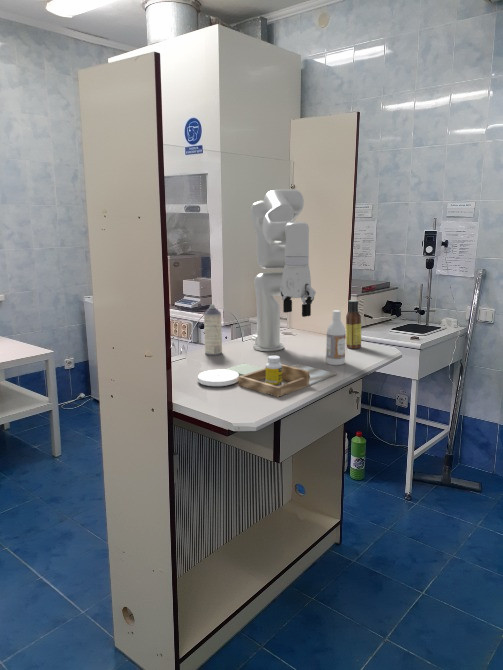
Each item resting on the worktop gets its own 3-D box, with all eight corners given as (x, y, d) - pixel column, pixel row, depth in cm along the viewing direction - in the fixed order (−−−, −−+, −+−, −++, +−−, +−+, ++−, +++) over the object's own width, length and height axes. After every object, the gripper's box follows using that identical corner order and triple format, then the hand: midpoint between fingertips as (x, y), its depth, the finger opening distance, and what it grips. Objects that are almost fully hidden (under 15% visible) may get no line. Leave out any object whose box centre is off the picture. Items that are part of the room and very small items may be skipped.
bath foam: (334, 366, 198) (336, 313, 193) (322, 362, 204) (323, 310, 199) (348, 363, 202) (350, 311, 197) (336, 359, 207) (337, 308, 203)
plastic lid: (228, 373, 192) (228, 367, 192) (246, 384, 180) (246, 377, 180) (191, 379, 186) (191, 372, 185) (207, 391, 174) (207, 384, 173)
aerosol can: (225, 352, 220) (223, 303, 215) (216, 356, 214) (215, 306, 209) (210, 350, 223) (209, 302, 218) (202, 354, 217) (200, 305, 212)
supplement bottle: (280, 388, 175) (280, 359, 173) (264, 387, 176) (264, 358, 174) (282, 383, 180) (282, 355, 178) (266, 382, 181) (266, 354, 179)
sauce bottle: (362, 346, 227) (363, 299, 222) (360, 349, 221) (361, 302, 216) (346, 345, 229) (347, 298, 224) (344, 348, 223) (345, 301, 218)
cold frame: (238, 385, 179) (238, 370, 178) (297, 365, 200) (297, 352, 199) (278, 397, 167) (278, 382, 166) (336, 374, 188) (336, 361, 187)
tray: (224, 373, 192) (224, 369, 192) (244, 367, 199) (244, 363, 199) (248, 380, 184) (248, 375, 184) (268, 373, 191) (268, 369, 191)
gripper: (271, 260, 178) (272, 311, 182) (305, 264, 164) (304, 319, 167) (289, 259, 182) (289, 309, 186) (323, 262, 168) (323, 316, 172)
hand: (296, 314), depth 177 cm, fingers open, 9 cm apart
